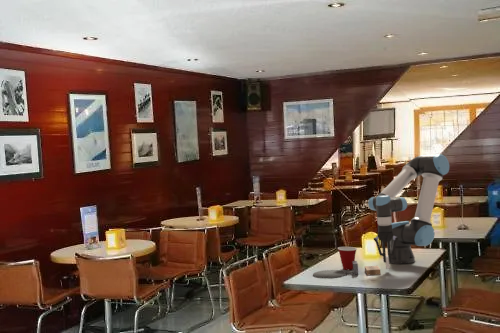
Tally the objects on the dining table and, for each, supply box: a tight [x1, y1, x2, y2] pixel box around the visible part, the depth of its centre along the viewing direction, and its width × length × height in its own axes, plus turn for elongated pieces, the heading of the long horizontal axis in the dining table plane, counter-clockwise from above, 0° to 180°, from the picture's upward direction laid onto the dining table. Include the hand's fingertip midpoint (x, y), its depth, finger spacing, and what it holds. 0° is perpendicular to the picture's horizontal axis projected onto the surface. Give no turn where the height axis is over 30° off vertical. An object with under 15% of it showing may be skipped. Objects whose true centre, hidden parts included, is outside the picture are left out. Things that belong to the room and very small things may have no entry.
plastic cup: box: [337, 246, 358, 271], centre depth 315 cm, size 11×11×12 cm
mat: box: [312, 269, 347, 279], centre depth 304 cm, size 18×18×1 cm
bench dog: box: [352, 260, 359, 276], centre depth 302 cm, size 2×8×6 cm, turn 173°
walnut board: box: [364, 265, 381, 276], centre depth 301 cm, size 7×10×3 cm
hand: (387, 268), depth 300 cm, fingers closed
